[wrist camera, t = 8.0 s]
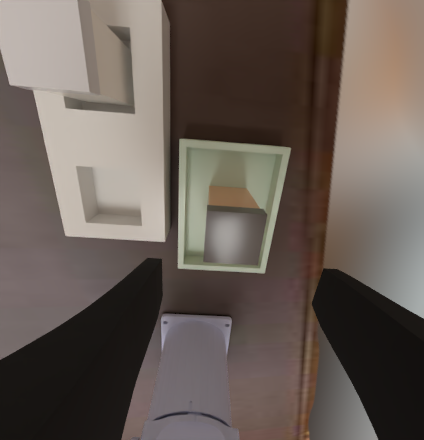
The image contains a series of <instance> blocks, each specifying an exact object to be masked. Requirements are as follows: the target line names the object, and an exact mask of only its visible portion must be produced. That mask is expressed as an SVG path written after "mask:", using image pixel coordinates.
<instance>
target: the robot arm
mask: <svg viewBox="0 0 424 440" xmlns="http://www.w3.org/2000/svg"><path fill="white" fill-rule="evenodd" d="M162 296H163V293H162V259H156V258H147V259H146V260H145V261H144V262H142V263H141V264H140V265H139V266H138V267H137V268H136V269H134V270H133V271H132V272H131V273H130V274H129V275H127V276H126V277H125V278H124V279H123V280H122V281H120V282H119V283H118V284H117V285H116V286H114V287H113V288H112V289H111V290H109V291H108V292H107V293H106V294H104V295H103V296H102V297H100V298H99V299H98V300H96V301H95V302H94V303H92V304H91V305H90V306H88V307H87V308H86V309H84V310H83V311H81V312H80V313H78V314H77V315H75V316H74V317H72V318H71V319H69V320H68V321H66V322H65V323H63V324H61V325H60V326H58V327H57V328H55V329H53V330H52V331H50V332H48V333H47V334H45V335H43V336H42V337H40V338H38V339H36V340H35V341H33V342H31V343H30V344H28V345H26V346H24V347H23V348H21V349H19V350H17V351H16V352H14V353H12V354H10V355H9V356H7V357H5V358H3V359H1V360H0V440H121V438H122V434H123V430H124V426H125V422H126V418H127V414H128V410H129V406H130V402H131V398H132V394H133V390H134V387H135V384H136V380H137V377H138V374H139V371H140V368H141V365H142V362H143V359H144V357H145V354H146V351H147V348H148V345H149V342H150V339H151V336H152V333H153V330H154V327H155V324H156V321H157V318H158V314H159V310H160V305H161V301H162ZM312 306H313V309H314V311H315V314H316V316H317V319H318V321H319V323H320V326H321V328H322V330H323V331H324V333H325V335H326V337H327V339H328V340H329V343H330V344H331V346H332V348H333V350H334V352H335V353H336V355H337V357H338V359H339V360H340V362H341V364H342V366H343V368H344V369H345V371H346V373H347V375H348V376H349V378H350V380H351V382H352V384H353V386H354V388H355V390H356V392H357V394H358V395H359V397H360V400H361V402H362V404H363V406H364V408H365V410H366V413H367V415H368V417H369V419H370V421H371V423H372V426H373V428H374V430H375V433H376V435H377V437H378V440H424V319H423V318H421V317H419V316H418V315H416V314H414V313H412V312H410V311H409V310H407V309H405V308H404V307H401V306H400V305H398V304H397V303H395V302H393V301H392V300H390V299H388V298H386V297H385V296H383V295H381V294H380V293H378V292H376V291H375V290H373V289H371V288H370V287H368V286H366V285H364V284H363V283H361V282H360V281H358V280H356V279H355V278H353V277H351V276H349V275H347V274H345V273H344V272H342V271H339V270H337V269H325V268H324V269H323V272H322V275H321V278H320V281H319V284H318V286H317V289H316V292H315V295H314V298H313V301H312ZM231 325H232V319H231V318H230V317H226V316H205V315H184V314H163V315H162V317H161V338H162V355H161V360H160V364H159V369H158V373H157V378H156V382H155V387H154V392H153V396H152V401H151V405H150V410H149V414H148V419H147V420H146V421H145V422H144V426H143V431H142V435H141V439H140V440H239V430H238V429H237V428H232V422H231V408H230V395H229V382H228V368H227V351H228V345H229V338H230V332H231ZM139 438H140V437H132V438H131V439H130V440H139Z"/></svg>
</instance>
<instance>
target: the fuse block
mask: <svg viewBox="0 0 424 440" xmlns="http://www.w3.org/2000/svg"><path fill="white" fill-rule="evenodd" d="M88 2H89V3H90V8H91V10H92V11H93V12H94V13H95V14H96V15H97V16H98V17H99V18H100V19H101V20H102V21H103V22H104V23H105V24H106V25H107V26H108V28H109V29H110V30H111V31H112V32H113V33H114V34H115V35H116V36H117V37H118V38H119V39H120V40H121V41H122V42H123V43H124V44H125V45H126V46H127V47H128V48H129V49H130V50H131V55H132V71H133V87H134V103H135V107H134V106H122V105H110V104H98V103H89V102H85V101H81V100H77V99H74V98H70V97H66V96H62V95H58V94H54V93H50V92H46V91H39V90H33V92H34V96H35V101H36V105H37V110H38V114H39V119H40V123H41V128H42V132H43V137H44V141H45V145H46V150H47V154H48V159H49V163H50V168H51V172H52V177H53V181H54V186H55V190H56V195H57V199H58V204H59V208H60V213H61V217H62V222H63V226H64V231H65V235H66V236H74V237H90V238H107V239H123V240H140V241H156V242H165V241H166V238H167V236H168V234H169V231H170V229H171V222H170V22H169V20H168V17H167V14H166V11H165V9H164V6H163V3H162V0H88Z"/></svg>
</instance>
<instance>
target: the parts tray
mask: <svg viewBox="0 0 424 440" xmlns="http://www.w3.org/2000/svg"><path fill="white" fill-rule="evenodd" d="M290 151H291V148H289V147H284V146H273V145H260V144H248V143H235V142H223V141H210V140H198V139H185V138H182V139H179V214H178V269H196V270H214V271H231V272H249V273H265V269H266V265H267V260H268V255H269V250H270V246H271V241H272V236H273V231H274V227H275V222H276V217H277V212H278V208H279V203H280V198H281V194H282V189H283V184H284V179H285V175H286V170H287V165H288V160H289V156H290ZM209 186H222V187H235V188H247V190H248V191H249V192H250V194H251V195H252V197H253V198H254V200H255V201H256V203H257V204H258V206H259V207H260V209H264V210H265V212H266V213H267V220H266V226H265V231H264V236H263V241H262V246H261V251H260V256H259V262H258V266H257V265H240V264H224V263H207V262H203V257H204V242H205V228H206V214H207V205H208V193H209Z"/></svg>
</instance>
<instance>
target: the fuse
mask: <svg viewBox="0 0 424 440" xmlns="http://www.w3.org/2000/svg"><path fill="white" fill-rule="evenodd" d="M0 49H1V53H2V56H3V60H4V64H5V68H6V72H7V76H8V80H9V84H10V85H12V86H16V87H20V88H24V89H28V90H39V91H46V92H50V93H54V94H58V95H62V96H66V97H70V98H74V99H77V100H81V101H85V102H89V103H98V104H110V105H122V106H134V107H135V103H134V87H133V71H132V55H131V50H130V49H129V48H128V47H127V46H126V45H125V44H124V43H123V42H122V41H121V40H120V39H119V38H118V37H117V36H116V35H115V34H114V33H113V32H112V31H111V30H110V29H109V28H108V26H107V25H106V24H105V23H104V22H103V21H102V20H101V19H100V18H99V17H98V16H97V15H96V14H95V13H94V12H93V11H92V10H91V8H90V3H89V2H88V0H0Z"/></svg>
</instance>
